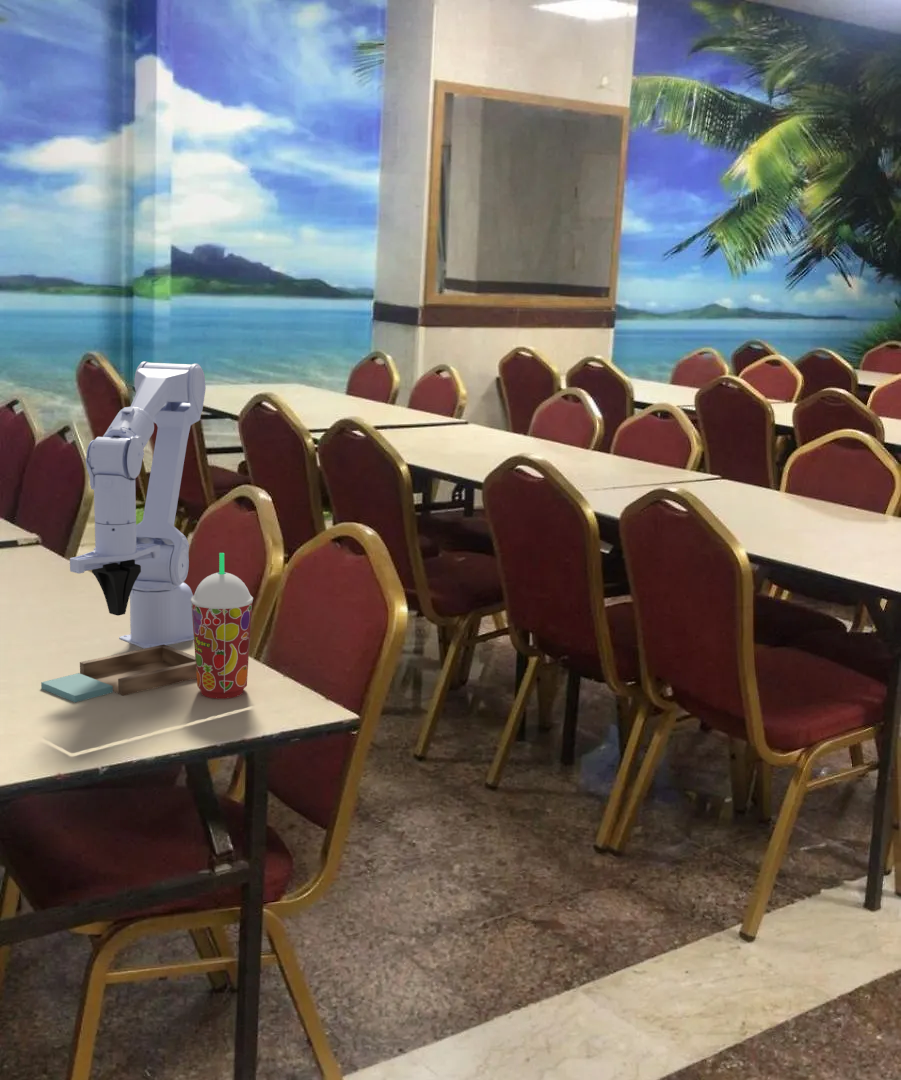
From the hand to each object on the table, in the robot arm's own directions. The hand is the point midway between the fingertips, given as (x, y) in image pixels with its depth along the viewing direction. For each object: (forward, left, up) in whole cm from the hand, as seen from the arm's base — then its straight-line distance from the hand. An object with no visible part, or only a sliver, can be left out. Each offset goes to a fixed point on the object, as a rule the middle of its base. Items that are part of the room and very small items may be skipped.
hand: (117, 613), depth 192 cm
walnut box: (0, +6, -8) cm, 10 cm away
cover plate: (+10, +6, -9) cm, 15 cm away
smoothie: (-5, +19, -9) cm, 21 cm away
